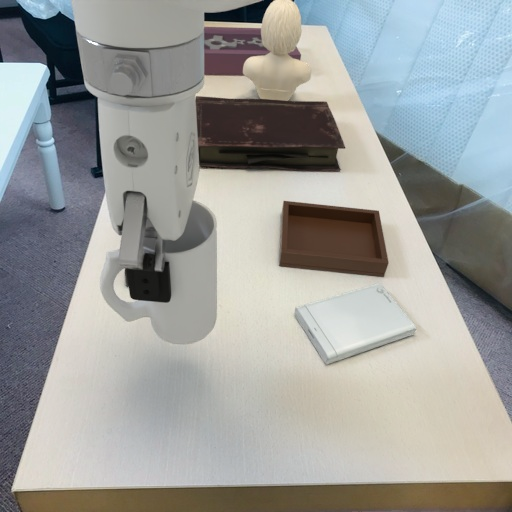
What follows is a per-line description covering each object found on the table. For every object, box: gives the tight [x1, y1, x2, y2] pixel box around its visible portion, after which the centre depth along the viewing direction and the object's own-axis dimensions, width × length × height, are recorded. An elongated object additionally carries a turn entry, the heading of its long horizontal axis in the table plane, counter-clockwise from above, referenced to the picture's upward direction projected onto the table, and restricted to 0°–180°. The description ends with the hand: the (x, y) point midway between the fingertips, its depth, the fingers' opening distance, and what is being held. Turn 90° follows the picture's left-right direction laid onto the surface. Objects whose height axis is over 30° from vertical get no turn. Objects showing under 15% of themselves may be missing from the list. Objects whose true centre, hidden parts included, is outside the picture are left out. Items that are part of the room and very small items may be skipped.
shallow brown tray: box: [278, 200, 389, 278], centre depth 73 cm, size 12×14×3 cm
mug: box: [99, 200, 218, 346], centre depth 44 cm, size 10×7×12 cm, turn 116°
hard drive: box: [293, 282, 417, 365], centre depth 62 cm, size 2×8×12 cm
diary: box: [195, 95, 346, 172], centre depth 91 cm, size 19×25×5 cm
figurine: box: [243, 0, 312, 101], centre depth 99 cm, size 14×9×20 cm
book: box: [204, 26, 302, 76], centre depth 118 cm, size 25×16×5 cm, turn 99°
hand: (160, 265), depth 43 cm, fingers closed on mug, 6 cm apart
